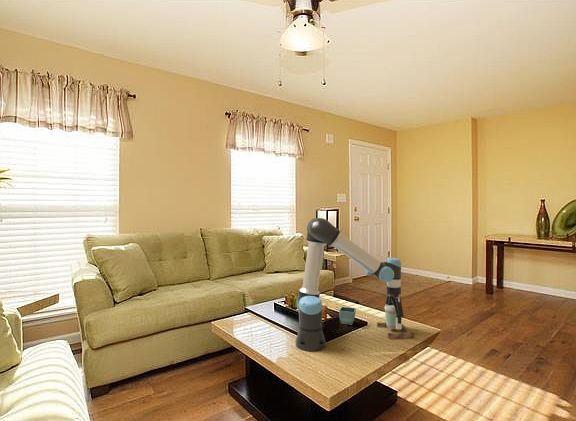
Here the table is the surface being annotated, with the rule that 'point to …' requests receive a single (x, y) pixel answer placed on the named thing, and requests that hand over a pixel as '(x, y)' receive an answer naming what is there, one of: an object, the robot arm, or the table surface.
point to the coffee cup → (390, 316)
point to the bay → (405, 334)
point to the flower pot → (347, 315)
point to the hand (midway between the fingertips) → (393, 324)
